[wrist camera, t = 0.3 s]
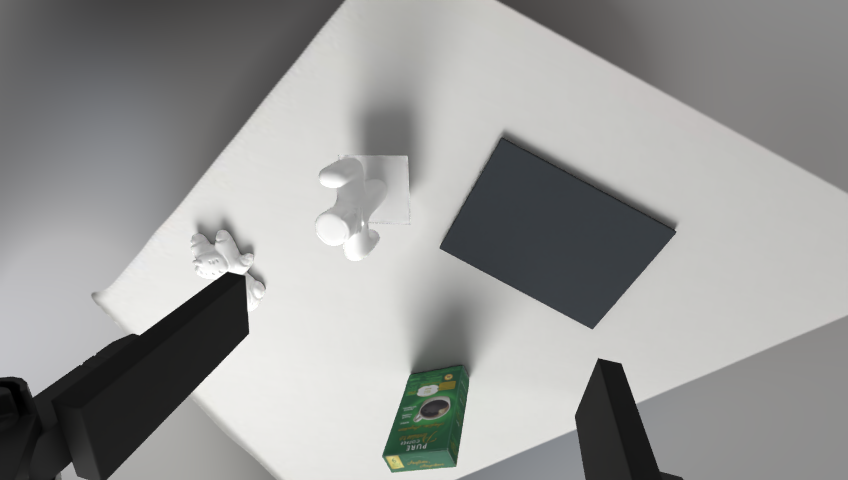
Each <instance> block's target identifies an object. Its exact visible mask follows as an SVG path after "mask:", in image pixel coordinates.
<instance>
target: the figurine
mask: <svg viewBox="0 0 848 480" xmlns="http://www.w3.org/2000/svg"><path fill="white" fill-rule="evenodd" d="M338 158H339V160H338V161H336V162H334V163H333V164H331V165H329V166H327V167H325V168H324V169H322V170H321V171H320V173H319V181H320V182H321V184H323V185H324V186H327V187H331V188H337V200H336V203H335V205H334V207H332V208H330V209H328V210H327V211H325V212H323V213H322V214H320V215H319V216H318V218H317V220H316V223H315V228H316V232H317V234H318V236H319V238H320V239H321V240H322V241H323V242H325V243H326V244H329V245H339V244H341V243H343V250H344V254H345V256H346V257H347V258H348V259H350V260H353V261H358V260H362V259H364V258H365V257H367V256H368V255H369V254H370V253H371V251H372V250H373V249H374V247H375V246H376V244H377V243H378V242H379V239H380V236H379V234H378V232H376V231H375V230H371V229H369V228H368V223H382V224H405V225H411V222H410V198H409V174H408V156H386V155H338Z"/></svg>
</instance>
